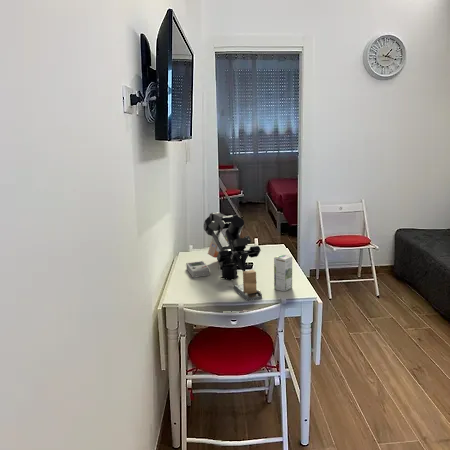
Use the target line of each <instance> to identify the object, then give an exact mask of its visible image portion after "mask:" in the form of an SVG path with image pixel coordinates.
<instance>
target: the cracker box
mask: <svg viewBox="0 0 450 450" xmlns="http://www.w3.org/2000/svg"><path fill="white" fill-rule="evenodd" d="M227 229H228V228H227ZM227 229H222V228H221V232H222V234H223V236H224V238H225V239H226V241H227V243H228V240H227V237H225V232H226V230H227ZM241 233H242V231H241V232H240V233H239V235H240V236H241ZM211 237H212V236H211ZM228 244H229V243H228ZM219 251H220V249H219V247H218V246H217V244H216V242H215V240H214V238H213V237H212V238H211V241H210V245H209V249H208V251H207V255H209V256H211V257H212V258H216V259H217V256H218V253H219Z"/></svg>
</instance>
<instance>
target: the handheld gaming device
mask: <svg viewBox="0 0 450 450" xmlns="http://www.w3.org/2000/svg"><path fill="white" fill-rule="evenodd" d="M185 266H186V269H187V271H188V273H189V274H190V275H191V278H199V277H201V278H202V277H205V276H206V277H208V276H210V275H211V272H210V270H211V269H210V267H209V266H208V264H206V263H205V261H203V260H201V261H200V260H199V261H192V262H186V264H185Z"/></svg>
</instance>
